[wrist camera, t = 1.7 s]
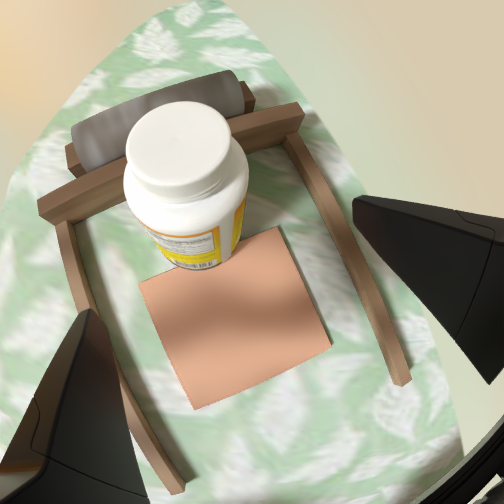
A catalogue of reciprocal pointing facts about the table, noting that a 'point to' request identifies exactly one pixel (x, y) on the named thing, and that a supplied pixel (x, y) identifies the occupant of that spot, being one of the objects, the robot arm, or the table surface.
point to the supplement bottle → (187, 183)
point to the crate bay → (223, 276)
